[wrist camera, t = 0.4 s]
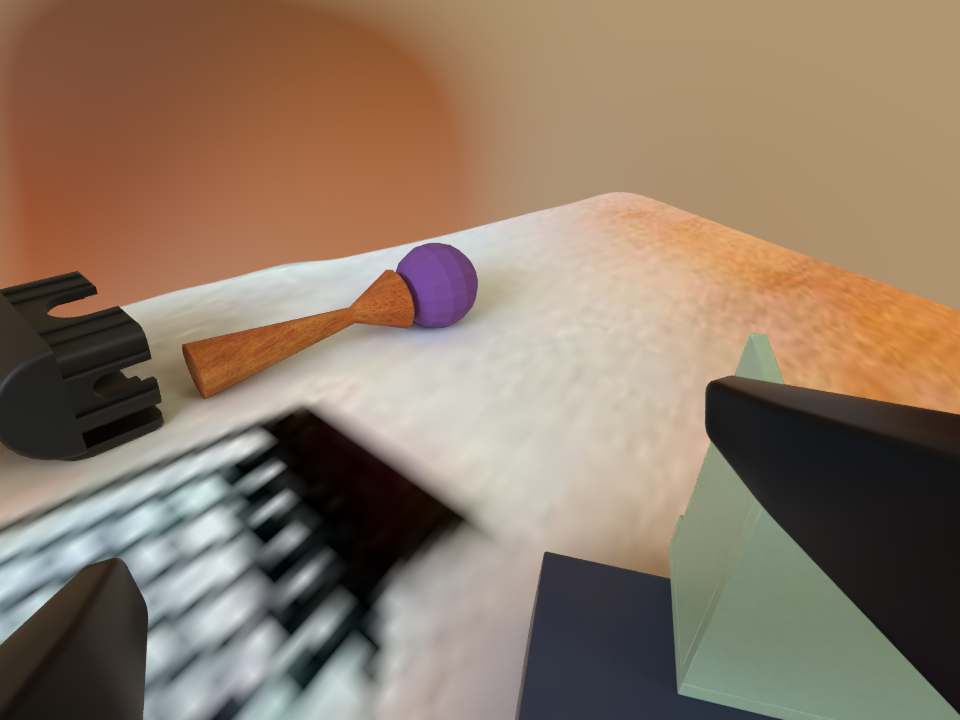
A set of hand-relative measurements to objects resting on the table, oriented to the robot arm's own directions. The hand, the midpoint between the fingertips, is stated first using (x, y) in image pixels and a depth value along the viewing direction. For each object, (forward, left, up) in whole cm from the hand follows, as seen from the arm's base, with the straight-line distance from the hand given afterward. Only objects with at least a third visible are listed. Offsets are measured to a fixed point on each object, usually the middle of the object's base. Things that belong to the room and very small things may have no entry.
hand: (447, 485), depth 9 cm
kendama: (+30, -2, -16) cm, 34 cm away
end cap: (+26, +14, -16) cm, 33 cm away
